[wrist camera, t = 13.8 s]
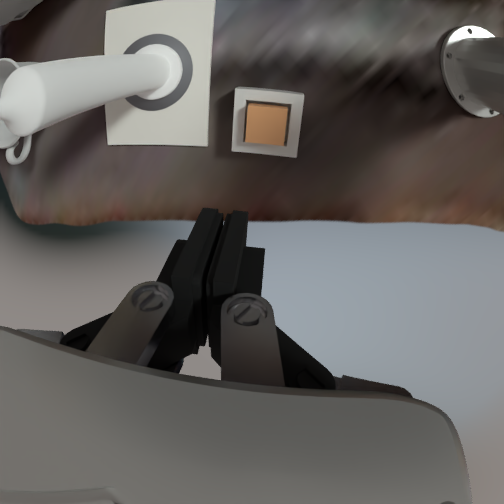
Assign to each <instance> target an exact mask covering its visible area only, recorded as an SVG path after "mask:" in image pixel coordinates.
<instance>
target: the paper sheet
mask: <svg viewBox="0 0 504 504" xmlns="http://www.w3.org/2000/svg"><path fill="white" fill-rule="evenodd" d="M215 2H216V0H164V1H156V2H149V3H143V4H137V5H132V6H127V7H122V8H117V9H113V10H108V11H106V23H105V46H104V55H121V54H135V53H136V52H137V51H139V50H140V49H141V48H143V47H145V46H148V45H152V44H162V45H166V46H168V47H170V48H172V49H173V50H174V51H175V52H176V53H177V54H178V55H179V57H180V59H181V62H182V68H183V71H182V77H181V80H180V82H179V84H178V86H177V87H176V88H175V89H174V90H173V91H172V92H171V93H170V94H169V95H167V96H165V97H163V98H160V99H155V100H148V99H144V98H141V97H139V96H138V95H133V96H129V97H126V98H123V99H120V100H117V101H113V102H110V103H107V104H105V114H106V129H107V141H108V145H186V146H208V122H209V95H210V74H211V56H212V41H213V27H214V14H215Z"/></svg>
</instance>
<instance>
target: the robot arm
mask: <svg viewBox="0 0 504 504" xmlns="http://www.w3.org/2000/svg"><path fill="white" fill-rule="evenodd" d="M446 54H447V55H446ZM440 58H441V70H442V75H443V79H444V82H445V84H446V86H447V89H448V91H449V92H450V94H451V96H452V97H453V99H454V100H455V101H456V102H457V103H458V105H459V106H461V107H462V108H463V109H464V110H466V111H467V112H469V113H471V114H473V115H476V116H479V117H484V118H487V117H493V116H496V115H498V114H500V113H501V114H503V115H504V37H494V36H493V35H492V34H491V33H489V32H488V31H487V30H485V29H483V28H480V27H477V26H460V27H458V28H455V29H453V30H452V31H451V32H450V33H449V34H448V35H447V37H446V38H445V40H444V43H443V45H442V49H441V55H440ZM247 225H248V212H243V211H233V213H232V214H227V216H226V219H225V222H224V225H223V213H218V209H212V208H203V209H202V210H201V213H200V215H199V217H198V219H197V221H196V223H195V225H194V227H193V229H192V231H191V234H190V235H189V238H188V240H180V239H179V240H177V241H176V243H175V245H174V247H173V249H172V251H171V253H170V255H169V257H168V259H167V261H166V263H165V265H164V267H163V269H162V271H161V273H160V275H159V277H158V279H157V281H156V282H155V281H149V282H144V283H141V284H138V285H137V286H135V287H133V288H132V289H131V290H130V291H129V292H128V294H127V295H126V297H125V298H124V299H123V300H122V302H121V303H120V304H119V306H118V307H117V308H116V310H115V311H114V312H112V313H110V314H108V315H106V316H104V317H101V318H99V319H96V320H94V321H92V322H89V323H87V324H85V325H82V326H80V327H78V328H75V329H73V330H71V331H70V332H68V333H67V334H66V335H64V333H63V332H59V331H43V330H29V329H17V330H15V329H12V328H8V327H4V326H0V504H472V496H471V487H470V481H469V474H468V469H467V464H466V459H465V455H464V451H463V447H462V444H461V441H460V438H459V435H458V433H457V430H456V428H455V426H454V424H453V422H452V421H451V419H450V418H449V417H448V415H447V414H446V413H444V412H443V411H442V410H441V409H439V408H437V407H436V406H434V405H432V404H429V403H427V402H424V401H421V400H418V399H415V398H413V397H412V395H411V393H409V392H408V391H407V390H406V389H405V388H402V387H399V386H394V385H389V384H384V383H379V382H373V381H368V380H364V379H359V378H354V377H350V376H346V375H343V376H342V378H339V377H335V376H333V375H332V374H331V373H330V372H329V371H328V369H327V368H325V367H324V366H323V365H322V364H321V363H319V362H318V361H317V360H316V359H315V358H313V357H312V356H311V355H310V354H309V353H307V352H306V351H305V350H304V349H303V348H302V347H300V346H299V345H298V344H297V343H296V342H295V341H293V340H292V339H291V338H290V337H289V336H287V335H286V334H285V333H284V332H283V331H282V330H280V329H279V328H278V327H277V326H276V325H275V320H274V313H273V309H272V306H271V305H270V304H269V302H268V301H267V300H266V299H264V298H263V297H261V290H262V279H263V266H264V255H265V249H264V248H256V247H246V238H247ZM207 336H208V337H209V347H211V357H212V358H213V359H214V360H215V361H216V363H217V364H218V365H219V366H220V367H221V380H214V379H208V378H202V377H195V376H189V375H183V374H179V373H180V370H181V368H182V366H183V362H184V358H185V357H186V356H189V355H190V354H198V349H199V346H205V344H206V340H207Z"/></svg>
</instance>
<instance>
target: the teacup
mask: <svg viewBox="0 0 504 504" xmlns="http://www.w3.org/2000/svg"><path fill="white" fill-rule="evenodd" d="M32 64H38V62H15V61H13V60H11V59H8V58H2V59H0V97H1V92H2V89H3V86H4V84H5V82H6V80H7V78H8V77H9V76H10V74H11V73H12V72H13V71H15V70H16V69H18V68H20V67H23V66H27V65H32ZM19 138H20V136H17V135H15V134H13V133H12V132H11V131H9V129H8V128H7V127H6V125H5V123H4V121H3V120H0V148H2V149H4V148H7V150H6V159H7V161H8V162H9V163H10V164H12V165H16V164H20V163H22V162H23V161H24V160H25V159H26V158H27V156H28V154H29V152H30V148H31V138H32V134H31V135H29V136H24V144H23V150H22V152H21V154H20V156H19V157H18V158H16V157H15V155H14V149H15V147H16V146H17V145H18V144H19V141H18V139H19Z"/></svg>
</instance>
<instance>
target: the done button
mask: <svg viewBox="0 0 504 504" xmlns="http://www.w3.org/2000/svg"><path fill="white" fill-rule="evenodd" d="M287 112H288V107H284V106H275V105H265V104H254V103H250V104H249V105H248V111H247V125H246V139H245V142H250V143H260V144H270V145H279V146H284V138H285V130H286V121H287Z"/></svg>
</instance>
